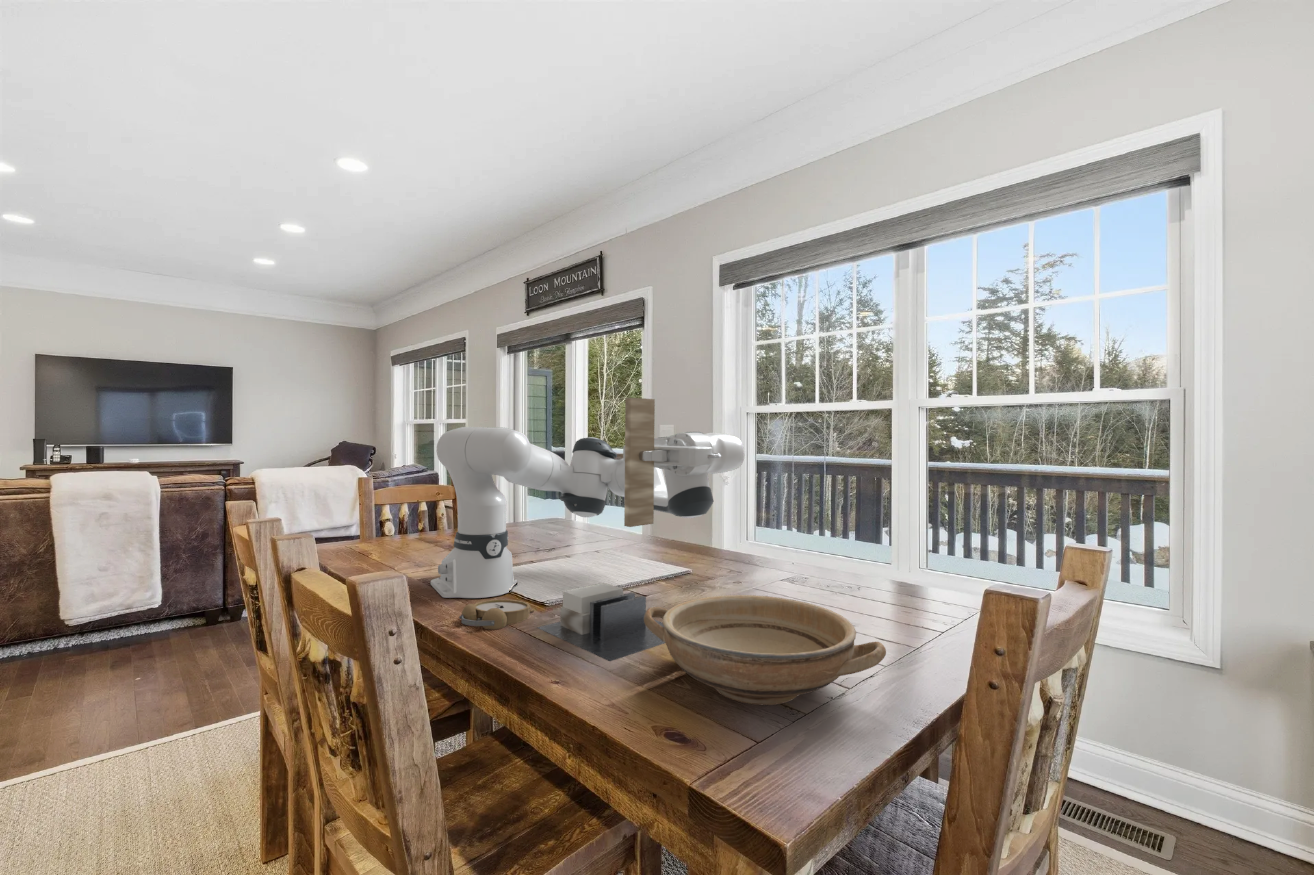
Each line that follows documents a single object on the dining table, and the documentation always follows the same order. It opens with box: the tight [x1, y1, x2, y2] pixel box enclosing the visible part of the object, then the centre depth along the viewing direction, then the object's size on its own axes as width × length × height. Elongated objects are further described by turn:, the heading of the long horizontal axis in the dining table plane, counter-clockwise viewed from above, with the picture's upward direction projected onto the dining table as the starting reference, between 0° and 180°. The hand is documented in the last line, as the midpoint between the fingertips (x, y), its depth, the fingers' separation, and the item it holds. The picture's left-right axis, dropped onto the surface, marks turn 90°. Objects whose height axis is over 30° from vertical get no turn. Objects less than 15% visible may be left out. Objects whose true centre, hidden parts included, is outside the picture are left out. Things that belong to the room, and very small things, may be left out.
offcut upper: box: [562, 582, 624, 614], centre depth 115 cm, size 6×10×3 cm, turn 133°
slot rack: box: [536, 592, 666, 662], centre depth 111 cm, size 22×20×7 cm
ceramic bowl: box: [644, 594, 887, 706], centre depth 89 cm, size 37×29×10 cm
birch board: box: [623, 397, 656, 528], centre depth 112 cm, size 2×6×24 cm, turn 134°
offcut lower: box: [560, 606, 590, 635], centre depth 115 cm, size 7×12×4 cm, turn 133°
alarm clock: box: [458, 599, 535, 630], centre depth 116 cm, size 11×5×15 cm
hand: (636, 455), depth 111 cm, fingers closed on birch board, 2 cm apart
